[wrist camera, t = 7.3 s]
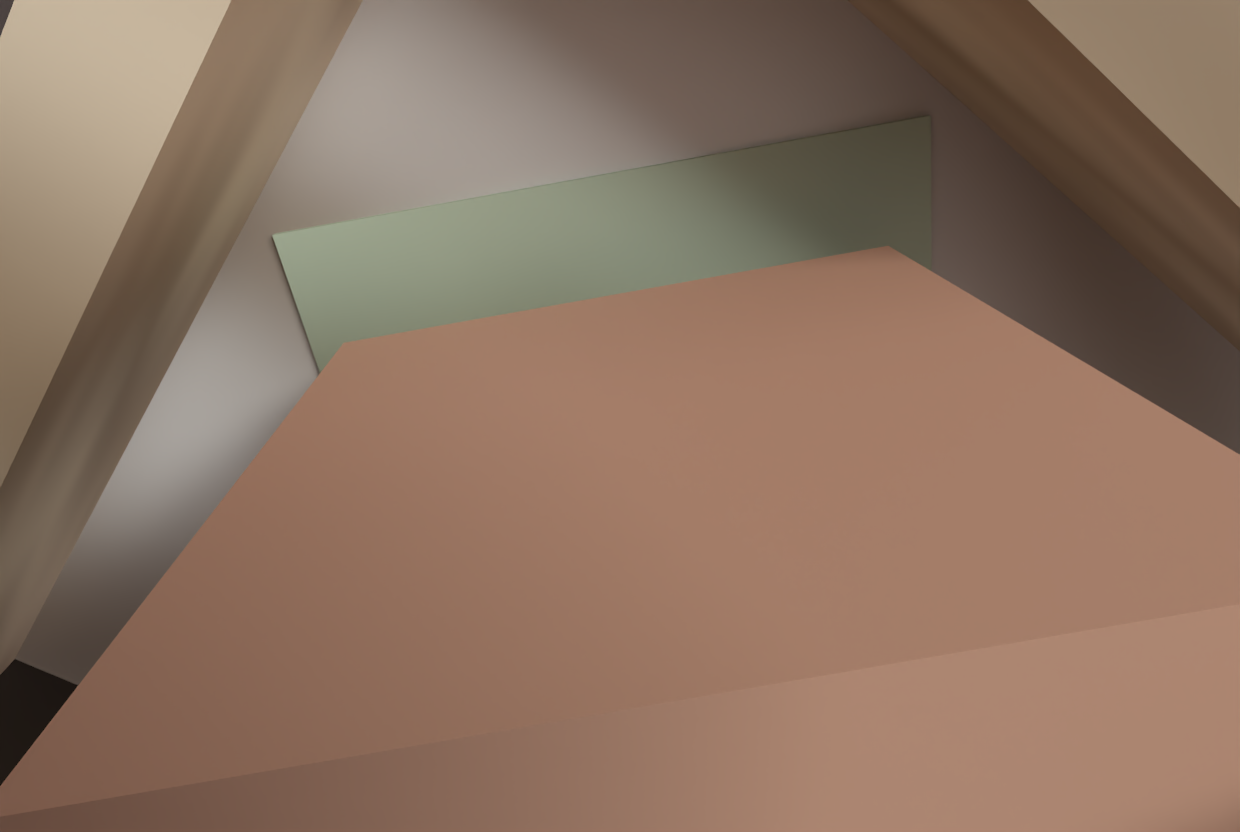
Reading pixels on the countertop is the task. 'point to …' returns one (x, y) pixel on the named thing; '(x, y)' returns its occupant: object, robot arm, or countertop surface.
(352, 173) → the tray
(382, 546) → the cube
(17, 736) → the countertop surface
